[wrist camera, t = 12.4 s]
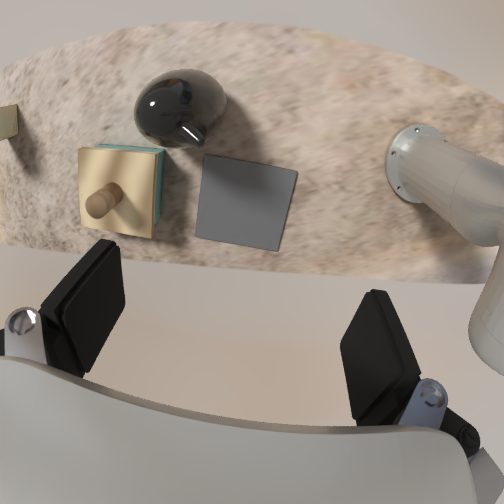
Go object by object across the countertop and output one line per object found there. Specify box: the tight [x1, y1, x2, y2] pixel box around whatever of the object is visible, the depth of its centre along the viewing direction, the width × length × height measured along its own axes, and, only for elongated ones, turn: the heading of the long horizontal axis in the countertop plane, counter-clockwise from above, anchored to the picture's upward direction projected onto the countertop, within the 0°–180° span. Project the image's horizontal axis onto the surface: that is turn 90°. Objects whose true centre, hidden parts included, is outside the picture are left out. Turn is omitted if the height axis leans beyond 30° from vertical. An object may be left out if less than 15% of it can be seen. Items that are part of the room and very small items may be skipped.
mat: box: [195, 155, 297, 251], centre depth 42 cm, size 13×13×1 cm
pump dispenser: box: [134, 69, 227, 149], centre depth 28 cm, size 10×10×15 cm
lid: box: [78, 147, 158, 239], centre depth 34 cm, size 12×12×6 cm
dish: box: [93, 144, 165, 225], centre depth 38 cm, size 11×11×4 cm
